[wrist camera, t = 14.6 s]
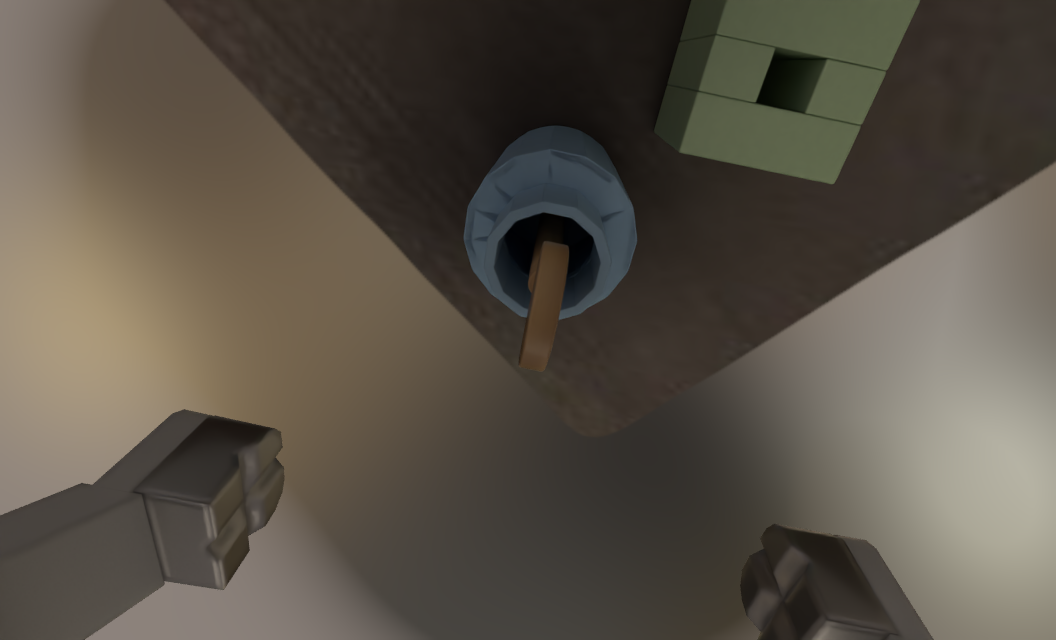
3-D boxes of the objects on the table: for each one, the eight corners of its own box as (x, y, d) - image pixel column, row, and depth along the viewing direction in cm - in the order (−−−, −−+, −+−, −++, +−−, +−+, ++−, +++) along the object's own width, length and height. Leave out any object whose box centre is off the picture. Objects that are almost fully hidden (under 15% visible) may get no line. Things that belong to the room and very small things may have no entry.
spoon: (551, 158, 28) (532, 266, 13) (572, 162, 28) (577, 275, 13) (537, 227, 30) (506, 391, 15) (557, 231, 30) (546, 398, 15)
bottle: (503, 113, 27) (462, 144, 17) (631, 140, 27) (672, 188, 17) (484, 237, 31) (440, 330, 20) (599, 260, 31) (616, 365, 20)
